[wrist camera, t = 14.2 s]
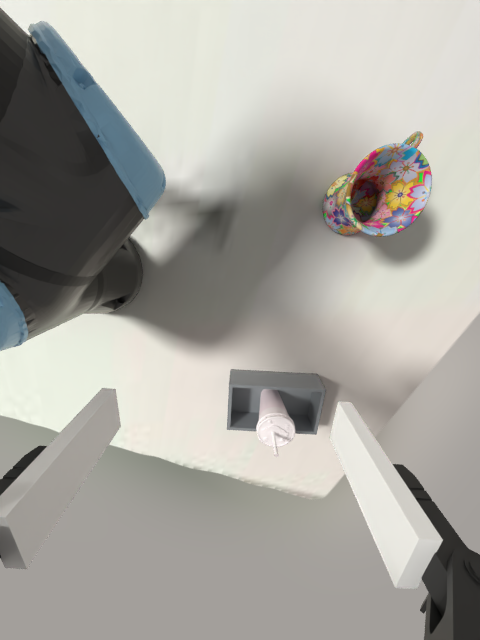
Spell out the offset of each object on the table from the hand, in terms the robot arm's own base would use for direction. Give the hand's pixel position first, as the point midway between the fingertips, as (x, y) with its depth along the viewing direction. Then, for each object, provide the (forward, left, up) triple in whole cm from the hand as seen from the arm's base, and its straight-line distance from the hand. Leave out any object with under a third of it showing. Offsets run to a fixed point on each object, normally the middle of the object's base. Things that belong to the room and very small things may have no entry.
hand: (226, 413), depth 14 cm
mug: (+17, +17, -29) cm, 38 cm away
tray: (+8, -20, -29) cm, 36 cm away
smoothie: (+8, -19, -28) cm, 35 cm away
